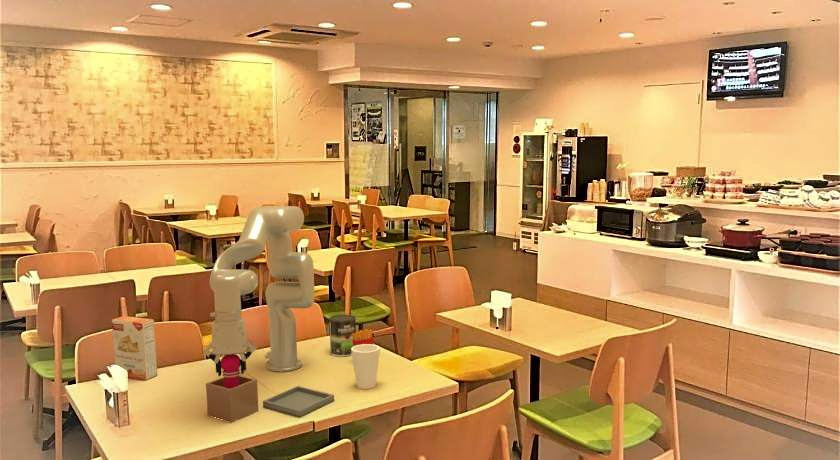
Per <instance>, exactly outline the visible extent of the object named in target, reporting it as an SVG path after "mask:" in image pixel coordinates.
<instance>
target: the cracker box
mask: <svg viewBox="0 0 840 460" xmlns="http://www.w3.org/2000/svg"><path fill="white" fill-rule="evenodd" d="M111 324H112V340H113V350H114V351H113V353H114V366H115V365H118V366H120V367H122V368H124V369H126V370H127V372H128V377H129V378H130V379H136V380H141V381H148V380H151V379H152V378H154V377H157V376H158V366H157V351H156V350H157V349H156V337H155V336H156V335H155V320H154V319H152V318H146V317H145V318H143V317H137V316H136V317H135V316H126V315H122V316H120V317H116V318H113V319H111ZM128 377H127V378H128Z"/></svg>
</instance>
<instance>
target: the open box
mask: <svg viewBox="0 0 840 460" xmlns="http://www.w3.org/2000/svg"><path fill="white" fill-rule="evenodd" d="M238 380H239V386H236V387H234V388H231V389H229V388H225V387H224V385H225V378H224V376H222V377H220V378H218V379H214V380H212V381H209V382H206V383H205V390H206V409H207V412H206V413H207V416H208V415H209V416H208V417H211V416H213V417H212V418H214V417H216V418H215V419H217V418H219V419H218V420H220V419H223V420H222V421H224V420H225V422H227V421H228V422H227V423H230V422H231V424H233V423H235V422H237V421H239V420H241V418H242V419H243V418H244V419H245V418H246V417H248V416H251V415H253V414H254V413H258V412H259V394H258V393H259V392H258V379H256V378H252V377H249V376H245V375H242V374H239V375H238ZM236 420H237V421H236ZM234 421H235V422H234ZM232 422H233V423H232Z"/></svg>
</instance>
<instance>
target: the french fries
mask: <svg viewBox="0 0 840 460" xmlns="http://www.w3.org/2000/svg"><path fill="white" fill-rule="evenodd" d="M352 336H353V346H356V345H362V344H372V345H374V336H373V329H369V328H366V329H363V330H362V329H360V330H359V331H357V330H356V333H353V334H352Z"/></svg>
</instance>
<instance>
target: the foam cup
mask: <svg viewBox="0 0 840 460" xmlns="http://www.w3.org/2000/svg"><path fill="white" fill-rule="evenodd" d="M380 350H381V348H380V346H379V345H376V344H373V345H372V344H362V345H356V346H354V347H352V348H351V356H350V357H351V358H352V359H351V360H352V362H353V371H354V377H355V383H356V387H357V388H358V389H362V390H369V389H374V388H375V387H376V385H377V377H378V369H379V360H380V359H379V358H380V354H381V351H380Z"/></svg>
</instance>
